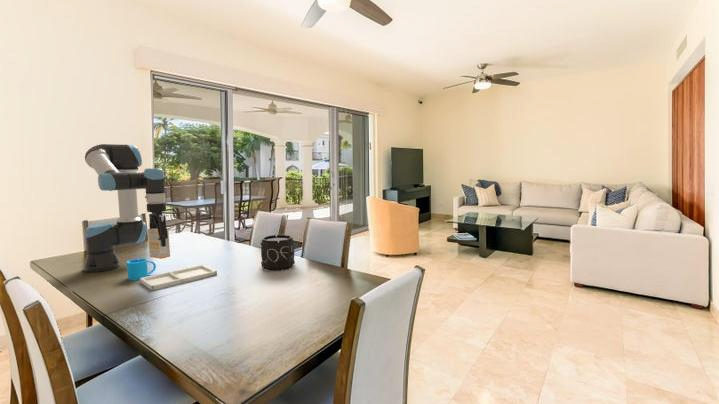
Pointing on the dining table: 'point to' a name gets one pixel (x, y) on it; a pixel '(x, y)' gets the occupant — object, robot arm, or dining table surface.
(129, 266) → the mug
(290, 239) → the black cylindrical pot
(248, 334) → the dining table surface
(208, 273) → the organiser tray
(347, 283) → the dining table surface
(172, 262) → the dining table surface
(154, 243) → the supplement box
